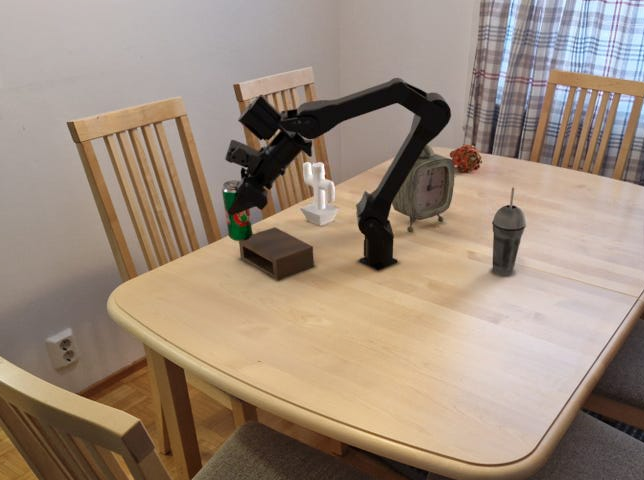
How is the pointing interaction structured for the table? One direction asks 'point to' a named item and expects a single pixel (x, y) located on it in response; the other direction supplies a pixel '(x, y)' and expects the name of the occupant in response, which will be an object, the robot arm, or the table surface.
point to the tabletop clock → (426, 188)
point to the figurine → (319, 195)
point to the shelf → (277, 253)
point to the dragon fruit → (466, 158)
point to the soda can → (238, 222)
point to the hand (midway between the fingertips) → (230, 208)
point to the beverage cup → (507, 237)
